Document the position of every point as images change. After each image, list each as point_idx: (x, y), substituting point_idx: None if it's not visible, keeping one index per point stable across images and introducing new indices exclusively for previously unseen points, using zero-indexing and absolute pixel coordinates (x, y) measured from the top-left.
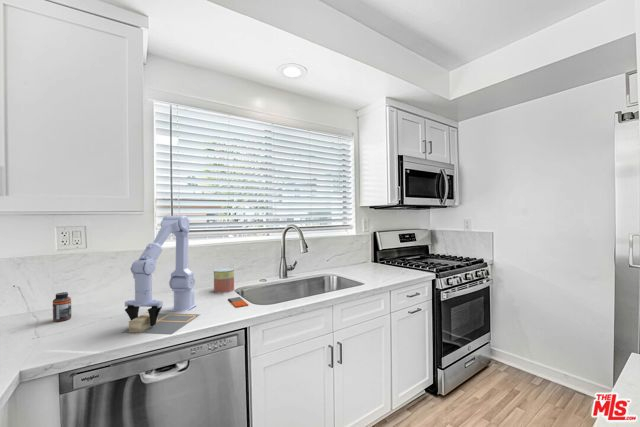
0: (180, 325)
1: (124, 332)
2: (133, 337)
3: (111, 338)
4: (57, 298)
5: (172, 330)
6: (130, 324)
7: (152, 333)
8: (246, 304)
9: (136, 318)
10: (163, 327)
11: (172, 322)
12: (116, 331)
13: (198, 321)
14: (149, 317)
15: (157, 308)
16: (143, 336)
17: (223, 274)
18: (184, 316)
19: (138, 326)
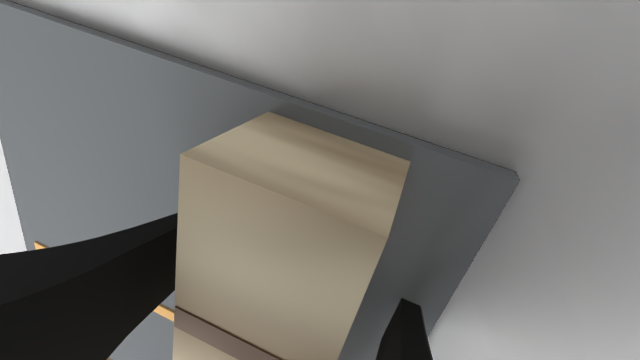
0: (34, 192)
1: (470, 164)
2: (308, 13)
3: (630, 25)
4: None
5: (17, 92)
6: (368, 197)
7: (129, 49)
8: None
9: (318, 332)
10: (125, 188)
11: None
12: (614, 279)
13: (13, 252)
14: (179, 312)
15: None
16: (212, 27)
17: None
18: (116, 355)
19: (252, 141)
